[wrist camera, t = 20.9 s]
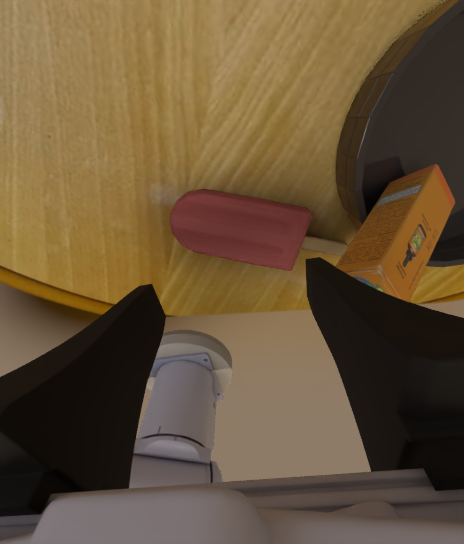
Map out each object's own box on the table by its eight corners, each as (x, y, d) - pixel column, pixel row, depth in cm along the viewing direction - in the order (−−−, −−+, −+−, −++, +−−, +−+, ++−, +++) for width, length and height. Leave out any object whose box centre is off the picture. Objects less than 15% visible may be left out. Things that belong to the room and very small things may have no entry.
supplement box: (383, 182, 19) (324, 272, 14) (439, 160, 16) (385, 265, 12) (402, 217, 20) (352, 311, 15) (458, 202, 17) (415, 314, 12)
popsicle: (337, 281, 22) (166, 250, 20) (331, 271, 23) (171, 242, 22) (366, 224, 19) (171, 184, 18) (358, 217, 20) (175, 179, 19)
